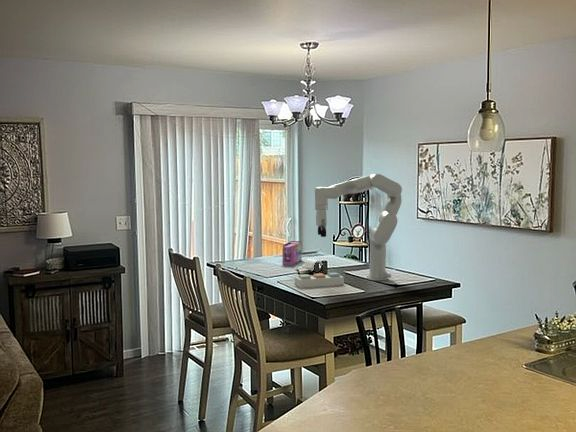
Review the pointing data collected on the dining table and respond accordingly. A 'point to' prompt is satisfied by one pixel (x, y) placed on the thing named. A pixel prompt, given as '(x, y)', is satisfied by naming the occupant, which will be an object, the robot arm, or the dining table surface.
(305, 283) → the button panel
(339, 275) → the slate button
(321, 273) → the terracotta button
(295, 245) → the gum box
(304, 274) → the sage button
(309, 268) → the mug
